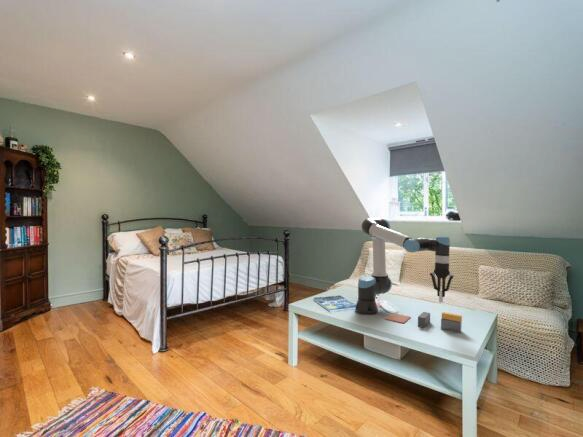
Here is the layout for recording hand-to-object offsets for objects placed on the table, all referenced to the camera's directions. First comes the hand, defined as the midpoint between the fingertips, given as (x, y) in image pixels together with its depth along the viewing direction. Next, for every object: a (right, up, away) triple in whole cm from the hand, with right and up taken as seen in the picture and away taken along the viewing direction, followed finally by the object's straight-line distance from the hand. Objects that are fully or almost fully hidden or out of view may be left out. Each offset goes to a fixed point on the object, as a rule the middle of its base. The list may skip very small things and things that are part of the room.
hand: (440, 301), depth 182 cm
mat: (-20, -15, +16) cm, 30 cm away
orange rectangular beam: (+5, -9, -4) cm, 11 cm away
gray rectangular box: (+4, -16, -3) cm, 16 cm away
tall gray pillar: (-7, -16, +6) cm, 18 cm away
